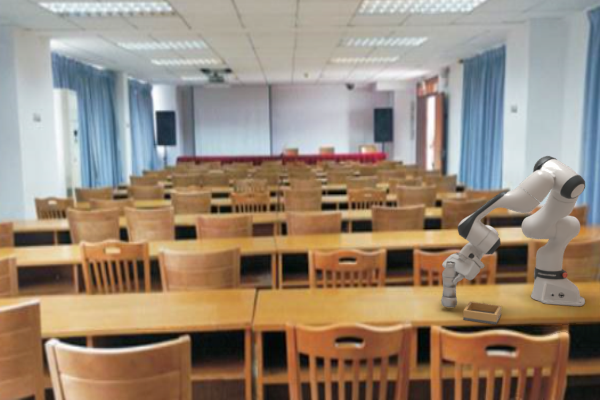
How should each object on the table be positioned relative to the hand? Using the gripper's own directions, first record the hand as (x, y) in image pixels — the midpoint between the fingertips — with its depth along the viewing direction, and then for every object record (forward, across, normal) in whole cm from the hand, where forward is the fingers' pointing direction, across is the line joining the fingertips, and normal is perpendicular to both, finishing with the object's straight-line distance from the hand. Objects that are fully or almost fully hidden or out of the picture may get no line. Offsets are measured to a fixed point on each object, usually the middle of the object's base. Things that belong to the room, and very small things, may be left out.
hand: (448, 280), depth 239 cm
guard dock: (+3, +13, +15) cm, 20 cm away
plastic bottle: (+8, 0, +9) cm, 12 cm away
